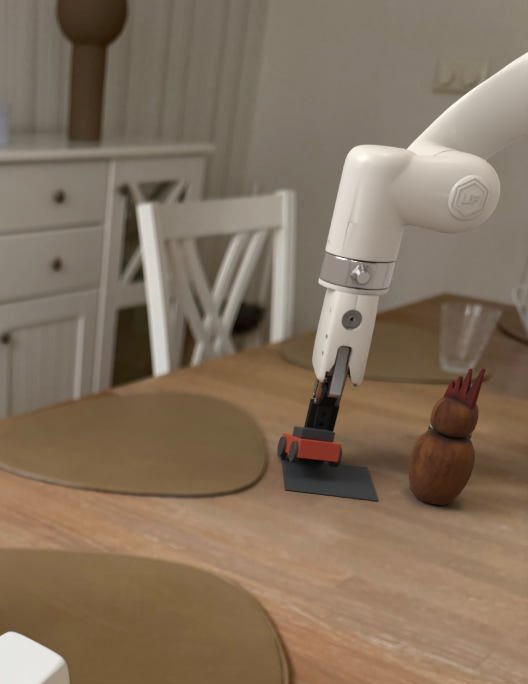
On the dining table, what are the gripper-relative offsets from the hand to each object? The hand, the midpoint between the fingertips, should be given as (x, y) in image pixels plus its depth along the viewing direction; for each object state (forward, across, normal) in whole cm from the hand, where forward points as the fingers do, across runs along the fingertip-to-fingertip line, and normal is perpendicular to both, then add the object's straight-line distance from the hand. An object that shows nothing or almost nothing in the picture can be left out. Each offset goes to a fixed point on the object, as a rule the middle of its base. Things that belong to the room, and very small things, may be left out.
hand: (317, 435), depth 116 cm
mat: (+3, -7, -1) cm, 7 cm away
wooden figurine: (+3, -9, -12) cm, 15 cm away
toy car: (0, -3, -2) cm, 4 cm away
